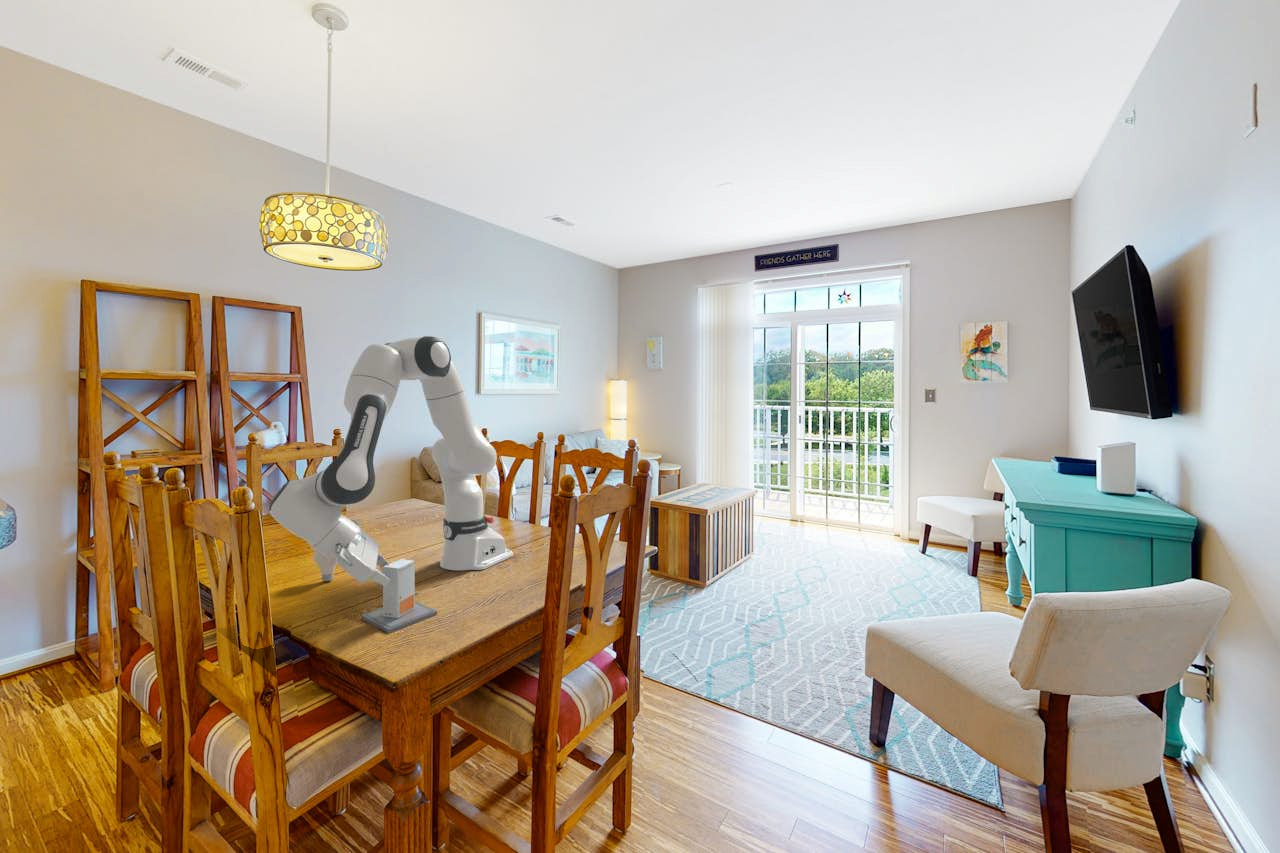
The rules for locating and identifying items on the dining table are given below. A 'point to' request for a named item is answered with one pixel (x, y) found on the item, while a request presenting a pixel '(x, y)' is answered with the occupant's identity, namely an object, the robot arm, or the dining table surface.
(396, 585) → the skincare box
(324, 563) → the light bulb
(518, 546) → the dining table surface
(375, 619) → the plate
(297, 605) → the dining table surface
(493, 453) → the robot arm
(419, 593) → the dining table surface
